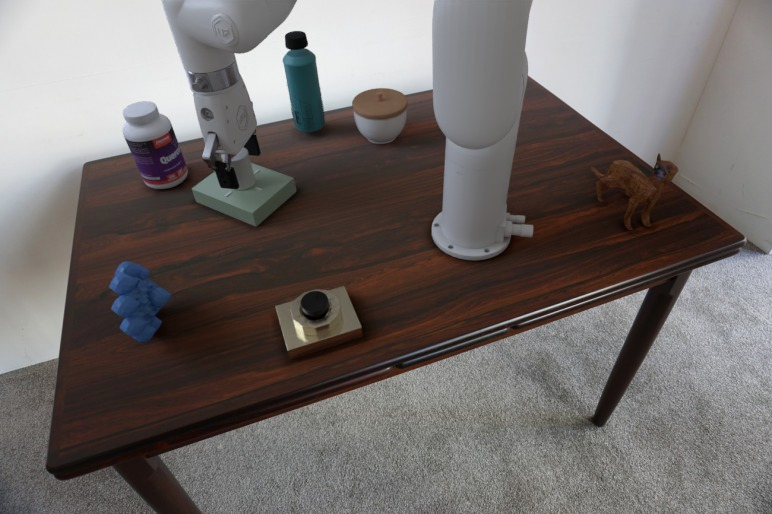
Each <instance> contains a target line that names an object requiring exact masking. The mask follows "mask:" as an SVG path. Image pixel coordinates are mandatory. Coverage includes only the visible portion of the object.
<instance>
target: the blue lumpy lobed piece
mask: <svg viewBox="0 0 772 514" xmlns="http://www.w3.org/2000/svg"><path fill="white" fill-rule="evenodd" d="M150 272H151V271H150V270H149V269H147V267H145V266H143V265H141V264H139V263H134V262H131V261H128V260H125V261H122V262H121V263H119V264H118V266H117V268H116V270H115V271H114V277H113V278H112V279H111V282H110V283H109V285H108V288H109V289H110V290H111V291H112V292H114V293H115V294H117V295H118V297H117V298H116V299H115V300H114V301H113V303H112V305H111V308H110V310H111V311H112V312H114V313H115V315H117V316H119V317H121V318H124V319H123V320H122V322H121V324H120V325H119V329H120V331H122V332H123V333H124V334H126V335H127V336H129V337H131V338H132V339H133V340H135V341H137V342H138V343H141V344H144V343H148V342H149V341H150V340H151V339H153V337H154V335H155V333H156V332H157V331H158V330H159V329H160V327H161V325H162V323H163V321H162V320H161V319H160V318H158V317H157V316H156V315H157V314H158V313H160V310H161V309H162V308H163V307H164V306H165V305H167V304H168V302H169V301H170V299H171V297H172V293H171V292H169V290H167V289H165V288H164V287H161V286H159V285H158V284H157V283H156V282H154V281H152V280H151V278H150V279H149V278H148V276H149V274H150Z"/></svg>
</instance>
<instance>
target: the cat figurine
mask: <svg viewBox="0 0 772 514" xmlns="http://www.w3.org/2000/svg"><path fill="white" fill-rule="evenodd" d="M590 171H591V172H593V174H594V176H596V177H597V178H598V179H599V180H597V181H596V182H595V190H596V197H597V200H598V202H600V203H603V202H604V200H603V198H602V197H603V196H602V195H603V190H609V189H611V188H618V189H619V190H623V191H624V192H625V195H626V196H627V197H628V198H629V199H628V207H627V209H626V211H625V214H624V217H623V224H624V227H625V229H626V230H627V231H633V230H634V228H633V227H632V225H631V223H632V222H631V221H632V220H631V219H632V215H633V214H634V212H635V211H636V209H637V206H638V204H645V206H644V207H643V210H642V213H641V218H640V219H641V223H642V224H643V226H644V227H645V228H646V227H647V228H649V227H650V228H651V226H652V224H651V222H650V214H651V211H652V210H653V208H654V207H655V205H656V203H657V200H658V199H660V198H661V193H663V192H664V185H667V184H669V183H671V182H672V181H673V179H674V178H675V176H676V175H677V173H678V172H679V168H678V166H677V165H676V164H675V163H673V162H672V161H671V160H663V159H662V157H661V153H657V156H656V162H655V165H654V166H653V170H652V176H653V178H655V180H656V183H657V184H656V187H655V186H654V184H652V182H651V181H650V179H649V178H648V176H647V175H646V174H645V172H643V171H642V170H641V169H640V168H639V167H637V166H636V165H634V164H633V163H632V162H631V161H629V160H626V159H625V160H624V159H617V160H614V161H612V163H611V164H610V165H609V168H608V170H607V171H606V173H605V174H602V173H601V172H600V171H599V170H598V169H597V168H596V167H595V166H591V167H590Z"/></svg>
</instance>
